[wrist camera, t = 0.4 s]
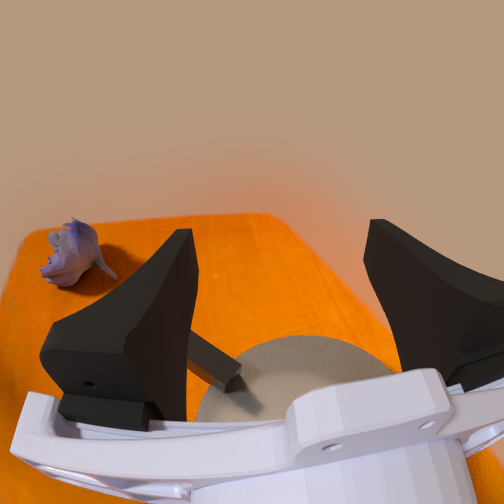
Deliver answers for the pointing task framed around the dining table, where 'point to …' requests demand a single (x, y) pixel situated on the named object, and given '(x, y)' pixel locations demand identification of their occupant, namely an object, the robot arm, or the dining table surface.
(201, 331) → the dining table surface
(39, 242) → the dining table surface
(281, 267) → the dining table surface
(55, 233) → the flower
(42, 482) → the dining table surface
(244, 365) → the cooker lid
